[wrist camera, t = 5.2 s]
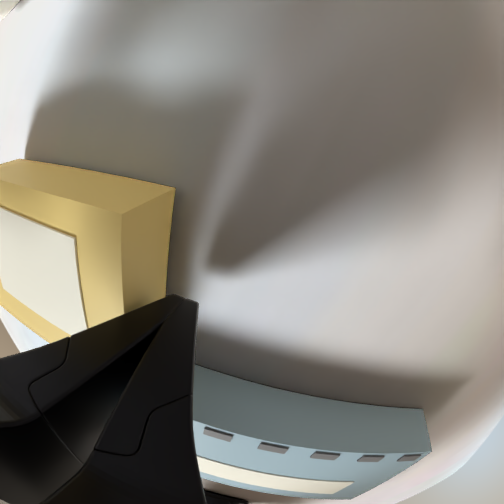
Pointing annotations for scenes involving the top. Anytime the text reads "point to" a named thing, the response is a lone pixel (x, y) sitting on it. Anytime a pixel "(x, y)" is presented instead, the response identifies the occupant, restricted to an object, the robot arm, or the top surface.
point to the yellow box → (79, 245)
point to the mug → (6, 7)
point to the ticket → (299, 439)
